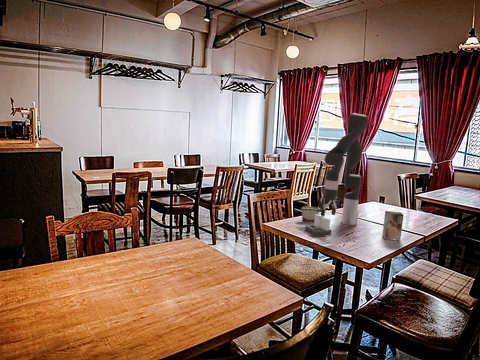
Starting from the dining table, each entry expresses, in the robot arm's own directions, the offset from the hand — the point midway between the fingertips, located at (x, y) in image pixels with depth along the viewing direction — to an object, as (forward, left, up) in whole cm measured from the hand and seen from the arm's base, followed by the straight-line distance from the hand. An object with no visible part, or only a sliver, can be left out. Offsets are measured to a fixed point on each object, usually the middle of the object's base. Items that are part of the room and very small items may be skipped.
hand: (328, 215), depth 215 cm
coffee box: (-39, +11, -13) cm, 43 cm away
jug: (+1, -4, -12) cm, 13 cm away
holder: (+1, -7, -13) cm, 15 cm away
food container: (-7, -29, -13) cm, 32 cm away
